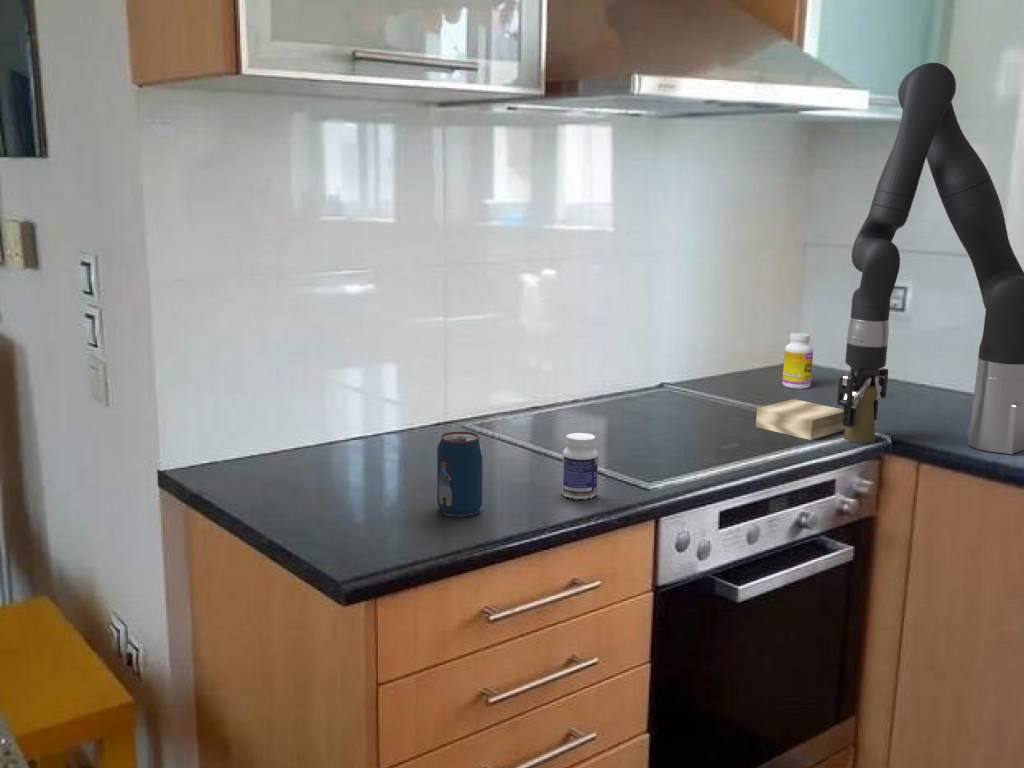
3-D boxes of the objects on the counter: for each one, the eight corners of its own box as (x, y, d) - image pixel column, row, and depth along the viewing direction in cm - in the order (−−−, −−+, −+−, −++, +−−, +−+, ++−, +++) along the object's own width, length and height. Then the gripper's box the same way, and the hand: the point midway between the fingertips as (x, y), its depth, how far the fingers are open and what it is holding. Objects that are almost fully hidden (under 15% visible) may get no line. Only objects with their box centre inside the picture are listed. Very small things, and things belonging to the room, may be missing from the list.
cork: (881, 441, 204) (887, 386, 201) (857, 444, 202) (861, 388, 199) (861, 433, 209) (865, 380, 207) (836, 436, 207) (841, 382, 205)
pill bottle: (602, 499, 167) (603, 439, 165) (568, 502, 165) (570, 441, 163) (589, 488, 172) (591, 430, 170) (556, 491, 171) (558, 432, 169)
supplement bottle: (805, 390, 248) (809, 337, 245) (778, 387, 251) (782, 334, 249) (814, 385, 253) (818, 333, 251) (787, 382, 257) (791, 331, 254)
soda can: (486, 505, 163) (486, 431, 161) (477, 520, 157) (477, 443, 154) (443, 502, 164) (442, 429, 162) (432, 517, 158) (432, 440, 155)
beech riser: (846, 429, 212) (848, 410, 211) (810, 440, 204) (812, 420, 203) (792, 417, 222) (793, 399, 221) (755, 426, 213) (757, 407, 213)
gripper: (865, 348, 194) (857, 433, 197) (904, 340, 203) (896, 421, 207) (829, 342, 199) (822, 425, 203) (869, 335, 209) (862, 414, 212)
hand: (859, 423), depth 205 cm, fingers open, 7 cm apart
